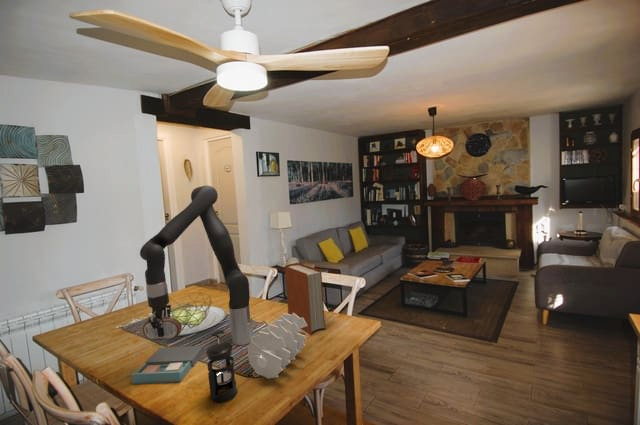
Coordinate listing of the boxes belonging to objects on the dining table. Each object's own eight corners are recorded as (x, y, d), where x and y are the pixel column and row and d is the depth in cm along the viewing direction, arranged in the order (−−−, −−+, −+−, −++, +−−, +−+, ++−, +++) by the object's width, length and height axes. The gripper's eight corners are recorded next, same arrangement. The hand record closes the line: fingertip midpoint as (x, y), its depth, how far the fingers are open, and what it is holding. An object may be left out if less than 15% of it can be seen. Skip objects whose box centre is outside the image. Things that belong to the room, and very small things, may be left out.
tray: (191, 367, 138) (190, 358, 137) (180, 382, 128) (179, 372, 127) (146, 369, 138) (145, 360, 138) (132, 384, 128) (131, 374, 128)
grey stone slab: (204, 352, 150) (203, 345, 149) (192, 367, 138) (192, 360, 137) (160, 354, 151) (159, 347, 150) (145, 369, 139) (144, 362, 138)
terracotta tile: (161, 370, 135) (160, 364, 135) (154, 378, 130) (153, 372, 130) (149, 371, 135) (148, 365, 135) (142, 378, 130) (141, 372, 130)
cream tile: (183, 368, 136) (182, 362, 136) (178, 375, 131) (177, 369, 131) (170, 369, 136) (170, 363, 136) (165, 376, 131) (164, 370, 131)
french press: (220, 383, 125) (214, 324, 123) (243, 386, 122) (237, 326, 120) (201, 404, 114) (194, 340, 111) (226, 407, 111) (219, 341, 109)
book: (325, 330, 163) (321, 270, 160) (311, 335, 159) (306, 274, 156) (301, 316, 182) (297, 262, 179) (288, 320, 178) (283, 265, 175)
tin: (182, 336, 136) (181, 316, 135) (179, 339, 133) (177, 319, 132) (146, 338, 137) (145, 317, 136) (142, 341, 133) (140, 320, 133)
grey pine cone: (254, 389, 126) (286, 353, 149) (290, 378, 119) (317, 342, 142) (232, 346, 127) (267, 317, 150) (266, 333, 120) (297, 304, 142)
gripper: (157, 287, 140) (162, 327, 142) (138, 300, 126) (144, 343, 128) (175, 286, 140) (180, 326, 141) (157, 298, 126) (163, 342, 128)
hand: (163, 334), depth 135 cm, fingers closed on tin, 2 cm apart
